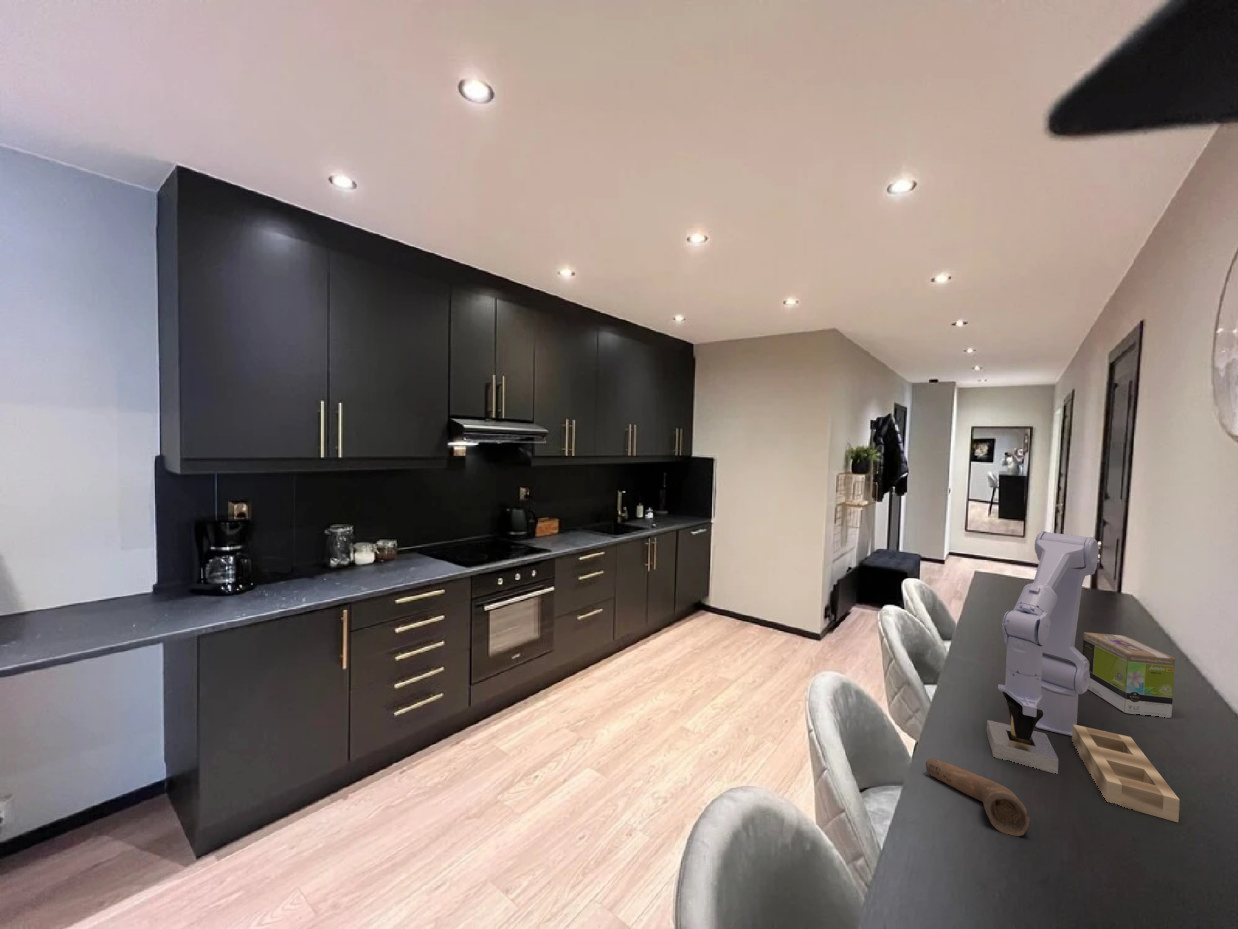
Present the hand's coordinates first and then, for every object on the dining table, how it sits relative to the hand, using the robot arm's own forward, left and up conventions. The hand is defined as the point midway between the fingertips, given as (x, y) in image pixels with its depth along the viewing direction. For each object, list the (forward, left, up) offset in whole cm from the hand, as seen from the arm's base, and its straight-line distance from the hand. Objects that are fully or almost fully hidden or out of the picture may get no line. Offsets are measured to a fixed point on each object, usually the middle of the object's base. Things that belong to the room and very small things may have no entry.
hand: (1020, 734), depth 102 cm
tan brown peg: (0, 0, -4) cm, 4 cm away
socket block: (0, 0, -4) cm, 4 cm away
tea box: (-41, +27, -4) cm, 49 cm away
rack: (0, +15, -4) cm, 15 cm away
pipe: (+23, -10, -4) cm, 25 cm away
